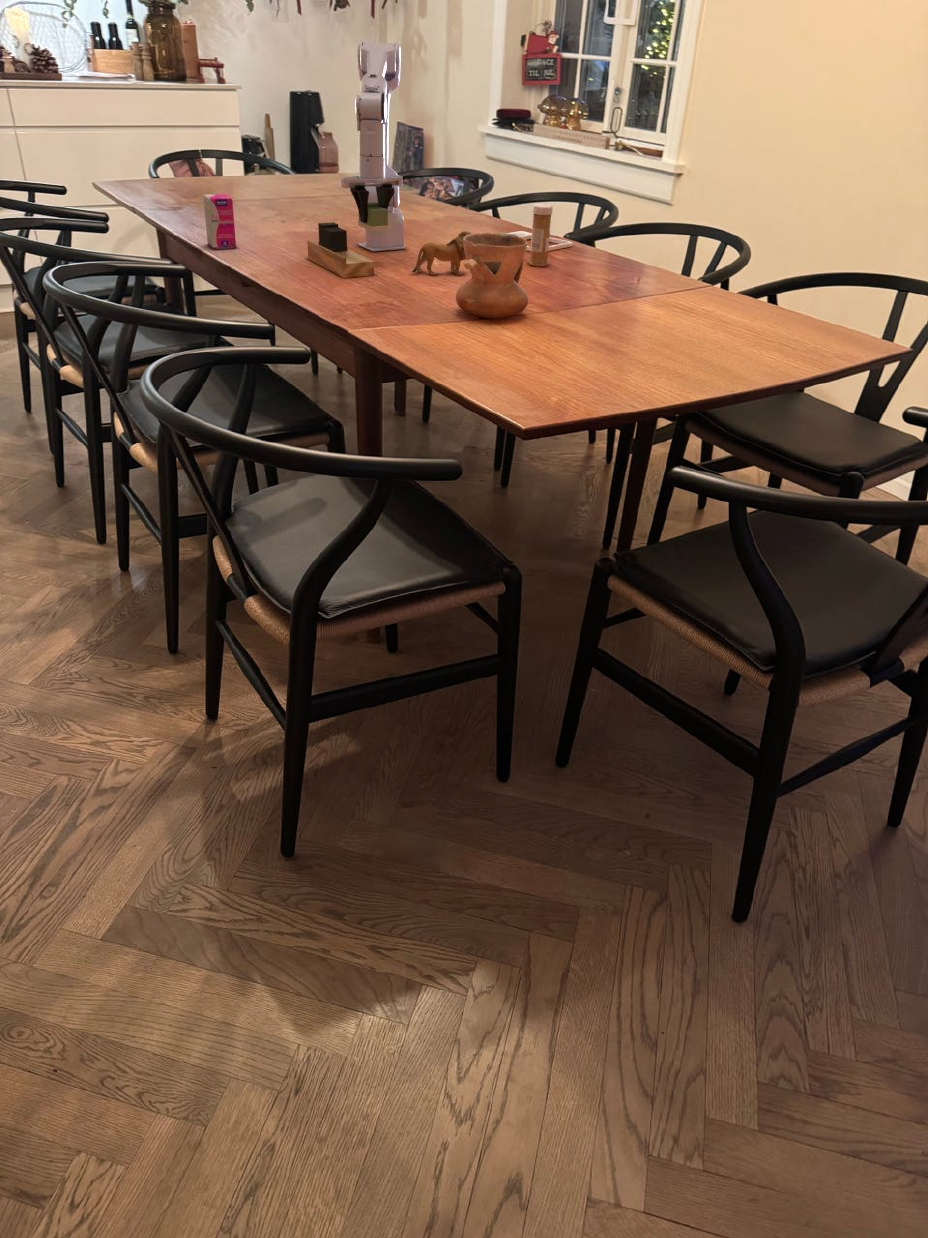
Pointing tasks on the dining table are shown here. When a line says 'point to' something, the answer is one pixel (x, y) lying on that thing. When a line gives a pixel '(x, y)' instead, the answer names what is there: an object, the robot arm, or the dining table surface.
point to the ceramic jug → (493, 275)
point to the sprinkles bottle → (540, 234)
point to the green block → (375, 218)
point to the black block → (332, 237)
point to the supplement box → (219, 221)
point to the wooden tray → (340, 261)
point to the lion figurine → (443, 254)
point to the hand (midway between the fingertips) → (372, 221)
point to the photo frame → (561, 242)
